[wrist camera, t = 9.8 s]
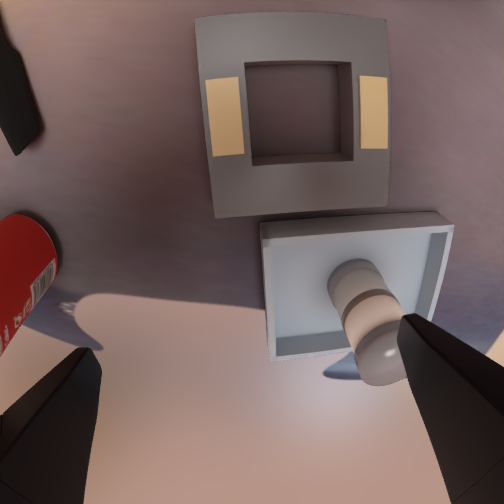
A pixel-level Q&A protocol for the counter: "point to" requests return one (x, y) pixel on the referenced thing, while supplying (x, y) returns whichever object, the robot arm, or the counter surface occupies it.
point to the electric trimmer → (15, 101)
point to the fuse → (368, 320)
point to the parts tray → (331, 256)
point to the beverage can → (22, 271)
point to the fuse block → (295, 165)
